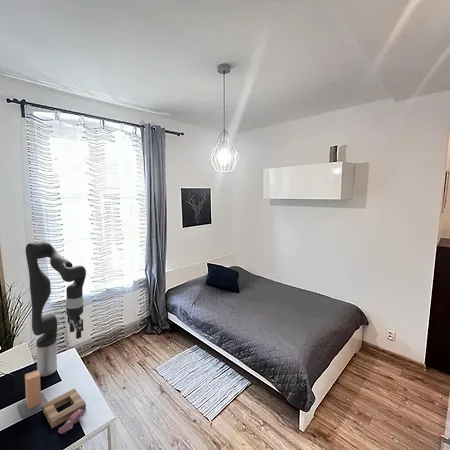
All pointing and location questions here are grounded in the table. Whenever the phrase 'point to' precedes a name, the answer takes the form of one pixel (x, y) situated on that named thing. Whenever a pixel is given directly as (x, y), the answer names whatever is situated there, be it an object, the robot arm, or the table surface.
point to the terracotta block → (32, 389)
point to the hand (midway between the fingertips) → (75, 334)
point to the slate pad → (26, 412)
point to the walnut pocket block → (58, 418)
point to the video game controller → (71, 421)
